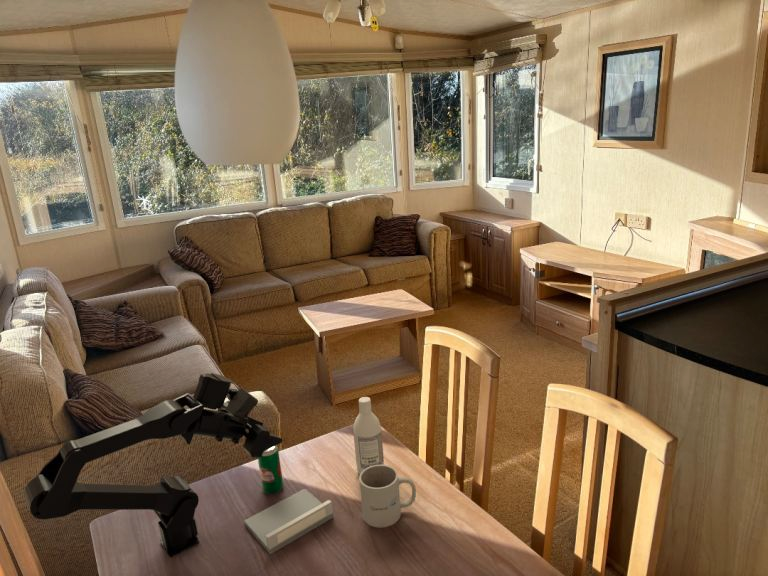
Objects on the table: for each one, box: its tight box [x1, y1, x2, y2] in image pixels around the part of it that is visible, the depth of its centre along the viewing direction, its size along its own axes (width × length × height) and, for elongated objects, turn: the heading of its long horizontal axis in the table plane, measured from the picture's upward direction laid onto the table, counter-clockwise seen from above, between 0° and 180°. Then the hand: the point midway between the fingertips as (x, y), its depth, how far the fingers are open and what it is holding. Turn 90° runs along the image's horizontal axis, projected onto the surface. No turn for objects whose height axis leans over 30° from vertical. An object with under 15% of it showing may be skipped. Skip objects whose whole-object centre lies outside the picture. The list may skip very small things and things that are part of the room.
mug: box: [358, 464, 417, 528], centre depth 124 cm, size 12×9×10 cm
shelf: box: [243, 488, 334, 555], centre depth 124 cm, size 16×12×4 cm
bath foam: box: [352, 396, 385, 475], centre depth 138 cm, size 7×7×20 cm
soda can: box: [257, 445, 284, 495], centre depth 135 cm, size 5×5×12 cm
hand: (271, 432), depth 132 cm, fingers open, 9 cm apart
